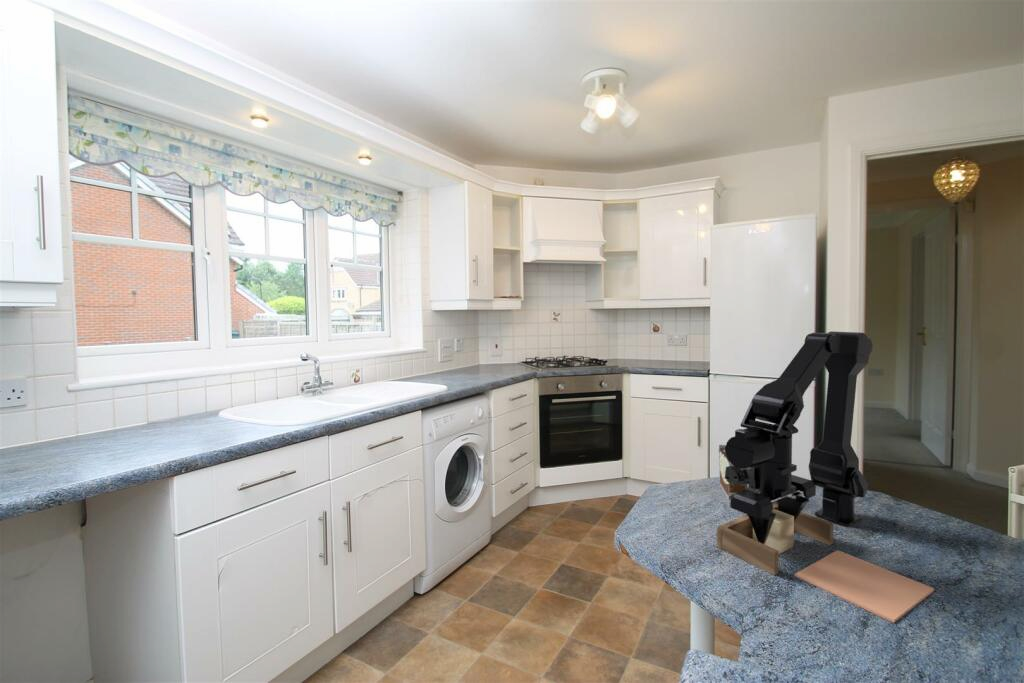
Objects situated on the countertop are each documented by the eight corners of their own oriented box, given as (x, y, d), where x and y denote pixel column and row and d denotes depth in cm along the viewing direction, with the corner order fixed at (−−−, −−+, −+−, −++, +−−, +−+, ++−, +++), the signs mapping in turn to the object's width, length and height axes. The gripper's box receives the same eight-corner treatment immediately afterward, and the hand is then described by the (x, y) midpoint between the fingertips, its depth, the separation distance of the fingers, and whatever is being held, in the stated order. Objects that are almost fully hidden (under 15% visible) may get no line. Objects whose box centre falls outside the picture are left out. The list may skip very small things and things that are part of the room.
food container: (758, 503, 109) (759, 460, 108) (730, 501, 110) (730, 459, 109) (744, 483, 121) (744, 444, 120) (718, 481, 122) (718, 444, 121)
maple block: (767, 536, 94) (768, 506, 94) (793, 546, 90) (793, 516, 89) (752, 543, 92) (752, 513, 91) (778, 554, 87) (778, 523, 87)
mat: (837, 552, 87) (837, 550, 87) (933, 590, 75) (934, 588, 75) (794, 576, 80) (794, 573, 80) (893, 622, 68) (893, 620, 68)
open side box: (775, 521, 100) (775, 502, 100) (833, 543, 90) (833, 523, 90) (716, 547, 90) (716, 526, 90) (774, 575, 81) (774, 552, 80)
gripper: (762, 439, 101) (761, 510, 102) (705, 456, 92) (705, 533, 93) (818, 453, 91) (816, 531, 93) (760, 473, 82) (759, 559, 83)
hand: (773, 537), depth 91 cm, fingers open, 7 cm apart
